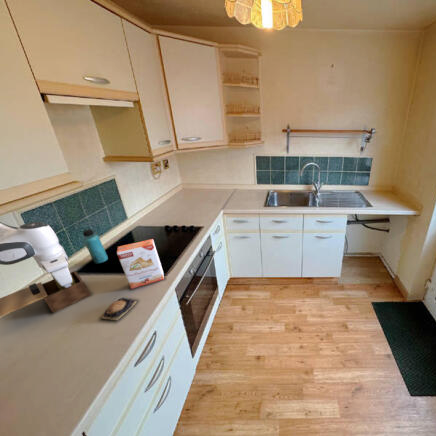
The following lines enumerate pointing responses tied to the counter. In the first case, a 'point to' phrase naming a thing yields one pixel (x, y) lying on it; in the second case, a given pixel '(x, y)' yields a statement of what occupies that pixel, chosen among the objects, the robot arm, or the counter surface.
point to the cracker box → (140, 263)
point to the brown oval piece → (118, 309)
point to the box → (64, 293)
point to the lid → (22, 298)
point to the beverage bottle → (95, 247)
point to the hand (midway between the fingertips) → (66, 284)
